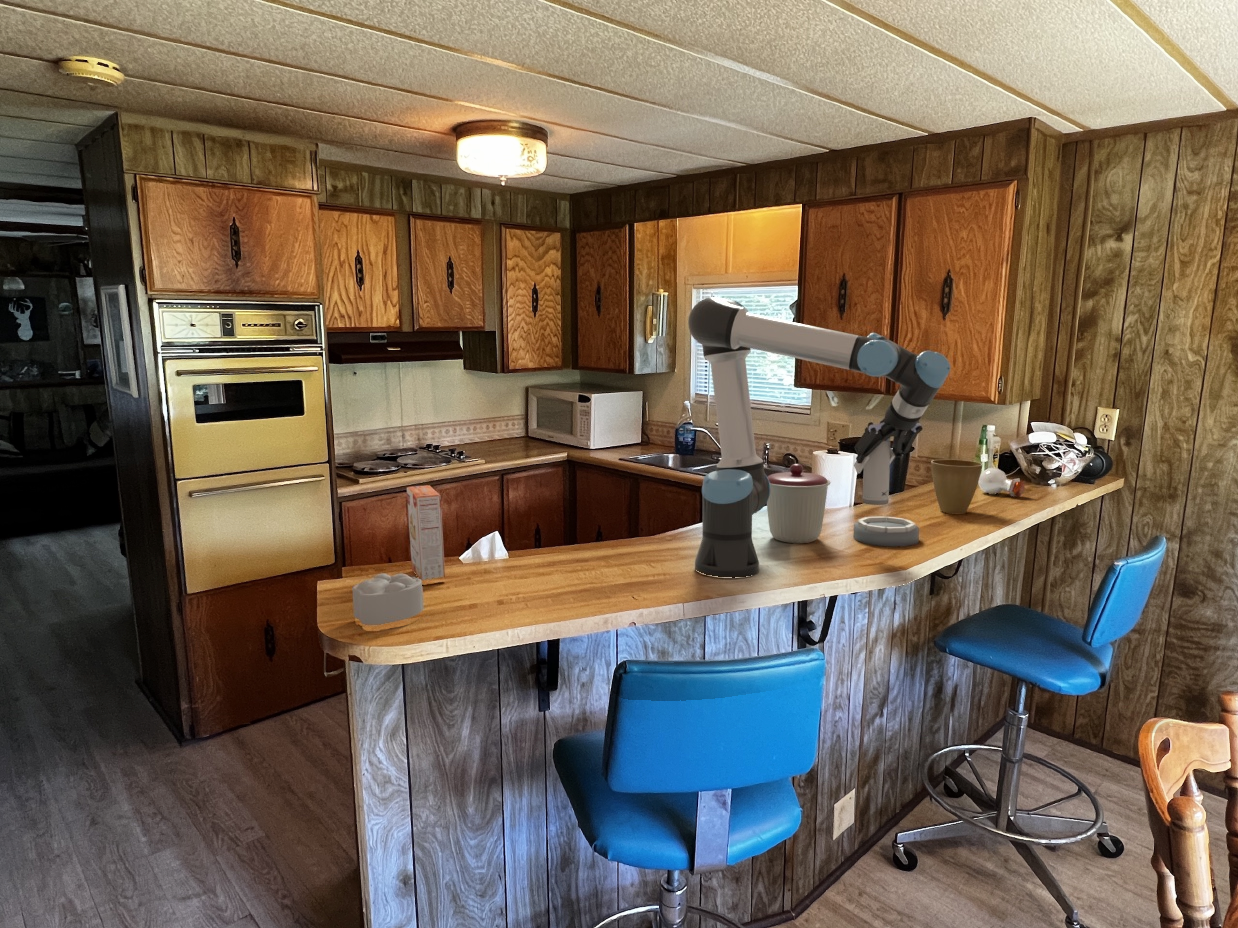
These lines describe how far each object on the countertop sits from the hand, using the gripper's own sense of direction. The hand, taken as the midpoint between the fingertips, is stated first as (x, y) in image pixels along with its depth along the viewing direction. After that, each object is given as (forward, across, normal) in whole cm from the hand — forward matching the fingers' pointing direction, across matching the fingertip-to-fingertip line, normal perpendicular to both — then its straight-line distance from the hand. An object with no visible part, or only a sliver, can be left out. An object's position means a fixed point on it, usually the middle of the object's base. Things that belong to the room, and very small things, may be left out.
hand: (869, 468), depth 197 cm
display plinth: (+22, +11, -8) cm, 26 cm away
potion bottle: (+55, +83, +26) cm, 103 cm away
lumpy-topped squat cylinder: (-2, -117, -33) cm, 122 cm away
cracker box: (+17, -112, -13) cm, 114 cm away
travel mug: (+4, 0, -9) cm, 9 cm away
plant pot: (+40, +50, +10) cm, 65 cm away
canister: (+26, -13, -4) cm, 30 cm away
